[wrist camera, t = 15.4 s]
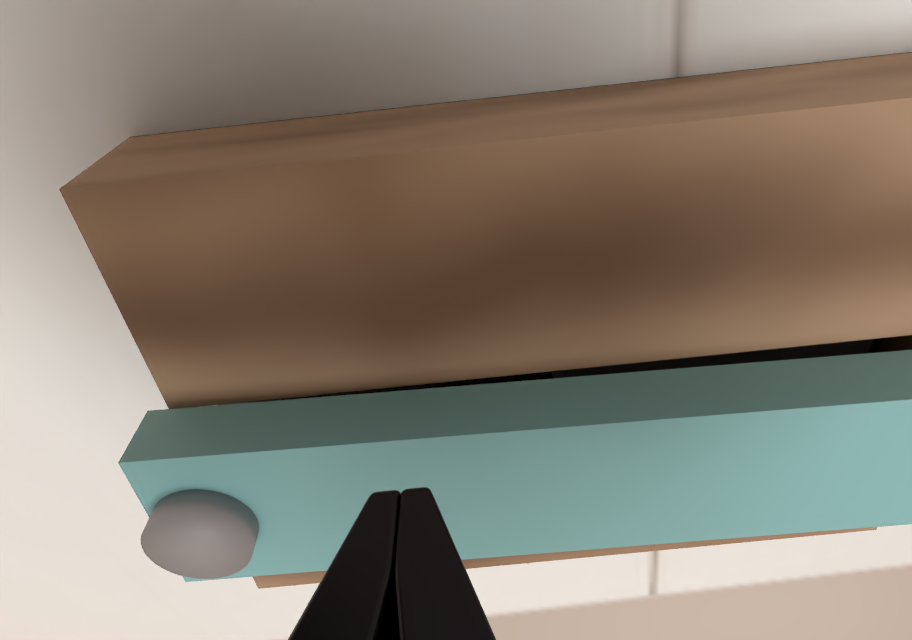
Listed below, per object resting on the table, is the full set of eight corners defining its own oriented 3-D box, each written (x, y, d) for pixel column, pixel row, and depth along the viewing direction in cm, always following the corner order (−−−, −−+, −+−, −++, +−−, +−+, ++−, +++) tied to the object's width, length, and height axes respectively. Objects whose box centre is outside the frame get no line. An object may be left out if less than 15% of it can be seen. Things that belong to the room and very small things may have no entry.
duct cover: (147, 410, 17) (105, 486, 15) (997, 342, 17) (1086, 408, 15) (205, 528, 20) (177, 605, 18) (925, 470, 20) (990, 541, 18)
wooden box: (130, 137, 17) (59, 189, 14) (965, 46, 17) (1099, 77, 13) (279, 504, 26) (258, 588, 23) (818, 452, 26) (876, 529, 23)
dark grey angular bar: (565, 342, 19) (563, 412, 20) (882, 315, 19) (853, 387, 20) (549, 293, 21) (548, 359, 23) (828, 269, 21) (806, 336, 23)
